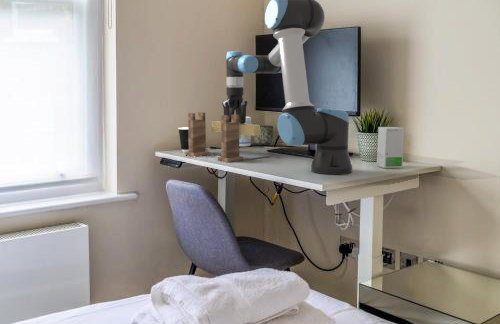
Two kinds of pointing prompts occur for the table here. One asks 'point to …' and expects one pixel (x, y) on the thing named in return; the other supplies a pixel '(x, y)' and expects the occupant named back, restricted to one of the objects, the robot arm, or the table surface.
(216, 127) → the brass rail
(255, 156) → the charcoal rubber mat
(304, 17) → the robot arm
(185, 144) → the dixie cup
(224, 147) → the walnut rail stand
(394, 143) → the skincare box
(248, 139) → the supplement tub
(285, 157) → the table surface
